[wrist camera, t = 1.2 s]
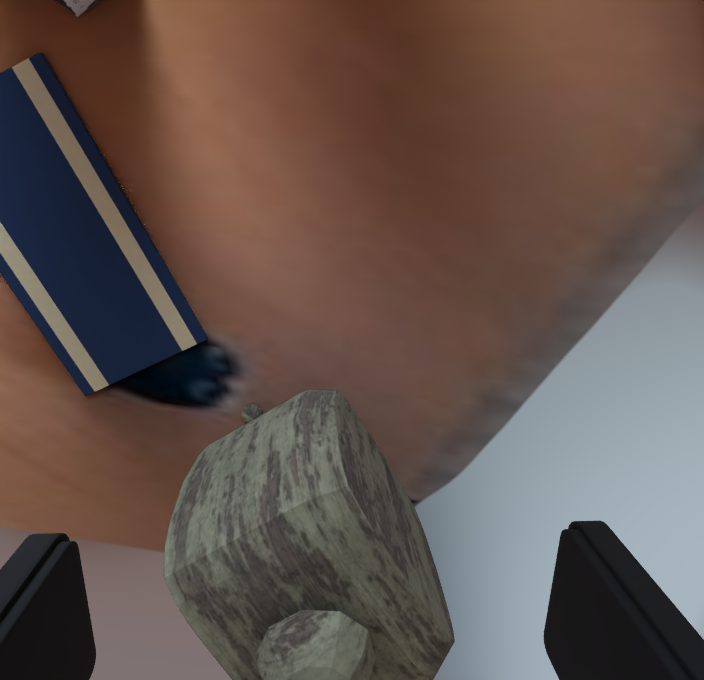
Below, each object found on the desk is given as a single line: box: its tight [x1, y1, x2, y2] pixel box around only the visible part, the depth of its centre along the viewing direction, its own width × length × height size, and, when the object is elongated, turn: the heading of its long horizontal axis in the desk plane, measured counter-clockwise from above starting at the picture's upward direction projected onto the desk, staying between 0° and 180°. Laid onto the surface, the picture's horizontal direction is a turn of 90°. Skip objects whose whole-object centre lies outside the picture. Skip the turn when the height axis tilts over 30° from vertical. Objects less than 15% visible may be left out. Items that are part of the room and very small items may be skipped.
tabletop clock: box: [164, 390, 454, 680], centre depth 28 cm, size 14×9×25 cm, turn 30°
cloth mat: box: [0, 53, 208, 396], centre depth 34 cm, size 20×10×1 cm, turn 25°
